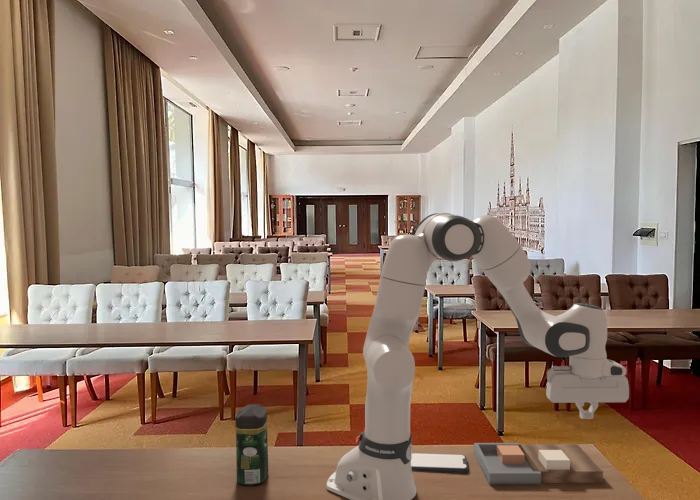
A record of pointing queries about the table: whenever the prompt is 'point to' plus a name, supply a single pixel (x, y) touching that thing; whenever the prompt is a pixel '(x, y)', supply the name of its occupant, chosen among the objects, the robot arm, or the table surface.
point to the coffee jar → (251, 445)
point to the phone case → (439, 463)
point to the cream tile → (554, 460)
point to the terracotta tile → (510, 454)
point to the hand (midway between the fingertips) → (586, 418)
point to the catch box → (504, 467)
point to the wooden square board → (579, 471)
